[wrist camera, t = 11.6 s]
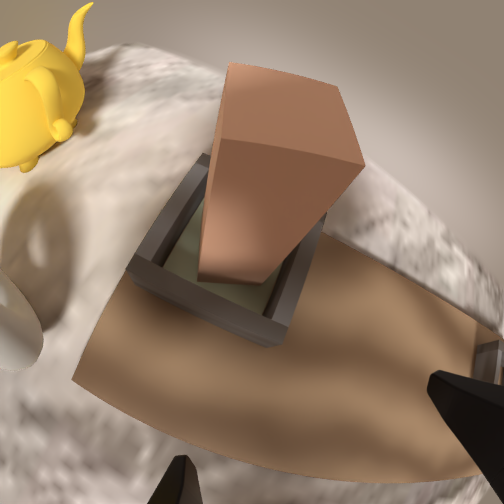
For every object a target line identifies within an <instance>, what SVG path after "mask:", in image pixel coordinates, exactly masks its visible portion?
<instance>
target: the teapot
mask: <svg viewBox="0 0 504 504" xmlns="http://www.w3.org/2000/svg"><path fill="white" fill-rule="evenodd" d="M92 5H93V2H91V3H88V4H87V5H85V6H83V7H82V8H81V9H79V10H78V11H77V12H76V13H75V14H74V15H73V17H72V19H71V21H70V24H69V29H68V41H67V45H66V48H65V50H64V52H62V51H60V50H59V49H58V48H56V47H55V46H54V45H52V44H50V43H49V42H47V41H45V40H33V41H29V42H26V43H24V44H21V45H19V46H18V41H12V42H9V43H8V44H6V45H4V46H2V47H1V48H0V168H8V167H14V166H18V165H19V167H20V171H21V172H23V173H26V172H29V171H31V170H32V169H33V168H34V167H35V166H36V165H37V163H38V160H39V157H38V156H39V155H40V154H42V153H43V152H45V151H46V150H47V149H49V148H50V147H51V146H52V145H53V144H54V143H55V142H57V141H58V142H62V141H65V140H67V139H69V138H70V136H71V135H72V133H73V128H74V127H75V126H76V125H77V119H76V118H75V117H76V115H77V114H78V112H79V110H80V108H81V106H82V103H83V100H84V95H85V88H84V83H83V80H82V78H81V75H80V73H79V70H80V69H81V67H82V64H83V62H84V58H85V41H84V34H83V22H84V18H85V15H86V13H87V12H88V10H89V9H90V7H91V6H92Z"/></svg>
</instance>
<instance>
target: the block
mask: <svg viewBox="0 0 504 504" xmlns="http://www.w3.org/2000/svg"><path fill="white" fill-rule="evenodd" d="M364 167H365V163H364V159H363V156H362V153H361V150H360V147H359V144H358V141H357V138H356V135H355V132H354V129H353V126H352V123H351V121H350V118H349V115H348V113H347V110H346V107H345V105H344V102H343V100H342V97H341V95H340V92H339V90H338V87H337V86H334V85H331V84H327V83H324V82H320V81H317V80H314V79H310V78H306V77H302V76H299V75H294V74H290V73H286V72H281V71H277V70H272V69H267V68H262V67H257V66H251V65H245V64H238V63H232V62H229V66H228V70H227V75H226V79H225V84H224V89H223V94H222V99H221V104H220V109H219V114H218V120H217V125H216V130H215V136H214V142H213V148H212V153H211V159H210V166H209V172H208V178H207V185H206V192H205V199H204V206H203V213H202V220H201V230H200V243H199V257H198V273H197V282H208V283H223V284H239V285H257V286H260V285H261V284H262V283H263V282H264V281H265V280H266V279H267V278H268V277H269V276H270V275H271V273H272V272H273V271H274V270H275V269H276V268H277V267H278V266H279V265H280V264H281V262H282V261H283V260H284V259H285V258H286V257H287V256H288V255H289V254H290V252H291V251H292V250H293V249H294V248H295V247H296V246H297V245H298V243H299V242H300V241H301V240H302V239H303V238H304V237H305V236H306V234H307V233H308V232H309V231H310V230H311V229H312V228H313V226H314V225H315V224H316V223H317V222H318V221H319V220H320V218H321V217H322V216H323V215H324V214H325V213H326V212H327V210H328V209H329V208H330V207H331V206H332V205H333V203H334V202H335V201H336V200H337V199H338V198H339V197H340V195H341V194H342V193H343V192H344V191H345V190H346V188H347V187H348V186H349V185H350V184H351V182H352V181H353V180H354V179H355V178H356V177H357V175H358V174H359V173H360V172H361V171H362V169H363V168H364Z"/></svg>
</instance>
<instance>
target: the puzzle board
mask: <svg viewBox="0 0 504 504" xmlns="http://www.w3.org/2000/svg"><path fill="white" fill-rule="evenodd" d="M210 159H211V156H209V155H207V154H204V153H202V155H201V156H200V157H199V159H198V160H197V161H196V163H195V164H194V165H193V167H192V168H191V170H190V171H189V172H188V174H187V175H186V176H185V178H184V179H183V181H182V182H181V183H180V185H179V186H178V188H177V189H176V191H175V192H174V193H173V195H172V196H171V198H170V199H169V201H168V202H167V204H166V205H165V207H164V208H163V210H162V211H161V213H160V214H159V216H158V217H157V219H156V220H155V222H154V223H153V225H152V226H151V228H150V230H149V231H148V233H147V234H146V236H145V238H144V239H143V241H142V242H141V244H140V246H139V247H138V249H137V251H136V252H135V254H134V256H133V257H132V259H131V261H130V262H129V264H128V266H127V267H126V271H125V273H124V275H123V276H122V278H121V280H120V282H119V284H118V285H117V287H116V289H115V291H114V293H113V294H112V296H111V298H110V300H109V302H108V304H107V306H106V308H105V310H104V311H103V313H102V315H101V317H100V319H99V321H98V323H97V325H96V327H95V329H94V331H93V333H92V335H91V338H90V340H89V342H88V344H87V346H86V348H85V350H84V352H83V355H82V357H81V359H80V361H79V364H78V366H77V368H76V370H75V373H74V375H73V377H72V381H74V382H75V383H77V384H78V385H80V386H81V387H83V388H84V389H86V390H87V391H89V392H90V393H92V394H93V395H95V396H97V397H98V398H100V399H102V400H103V401H105V402H106V403H108V404H110V405H112V406H113V407H115V408H117V409H119V410H120V411H122V412H124V413H126V414H128V415H130V416H131V417H133V418H135V419H137V420H139V421H141V422H143V423H145V424H147V425H149V426H151V427H153V428H155V429H157V430H160V431H162V432H164V433H166V434H168V435H171V436H173V437H175V438H178V439H180V440H182V441H185V442H187V443H190V444H192V445H195V446H198V447H200V448H203V449H206V450H208V451H211V452H214V453H217V454H220V455H223V456H226V457H229V458H232V459H236V460H239V461H242V462H246V463H249V464H253V465H257V466H261V467H265V468H269V469H273V470H278V471H282V472H287V473H292V474H297V475H303V476H309V477H315V478H323V479H330V480H339V481H350V482H365V483H415V482H430V481H440V480H449V479H456V478H462V477H468V476H474V475H479V474H483V473H482V472H481V471H480V469H479V468H478V466H477V465H476V464H475V462H474V461H473V459H472V458H471V457H470V455H469V454H468V453H467V451H466V450H465V448H464V447H463V446H462V444H461V443H460V442H459V440H458V439H457V438H456V436H455V435H454V434H453V432H452V431H451V430H450V428H449V427H448V426H447V425H446V423H445V422H444V420H443V419H442V417H441V416H440V414H439V412H438V410H437V409H436V407H435V405H434V404H433V402H432V400H431V399H430V397H429V396H428V394H427V385H428V381H429V377H430V375H431V374H432V373H433V372H435V371H437V370H443V371H447V372H450V373H454V374H458V375H462V376H465V377H469V378H473V379H477V380H481V381H485V382H489V383H494V384H498V385H502V386H504V339H503V338H501V337H500V336H498V335H497V334H495V333H494V332H492V331H491V330H489V329H488V328H486V327H485V326H483V325H482V324H480V323H479V322H477V321H476V320H474V319H472V318H471V317H469V316H468V315H466V314H465V313H463V312H461V311H460V310H458V309H457V308H455V307H453V306H452V305H450V304H449V303H447V302H445V301H444V300H442V299H440V298H439V297H437V296H436V295H434V294H432V293H431V292H429V291H427V290H426V289H424V288H422V287H420V286H419V285H417V284H415V283H414V282H412V281H410V280H409V279H407V278H405V277H403V276H402V275H400V274H398V273H396V272H395V271H393V270H391V269H389V268H388V267H386V266H384V265H382V264H380V263H379V262H377V261H375V260H373V259H371V258H370V257H368V256H366V255H364V254H362V253H360V252H359V251H357V250H355V249H353V248H351V247H349V246H347V245H346V244H344V243H342V242H340V241H338V240H336V239H334V238H332V237H330V236H328V235H327V234H325V233H323V232H321V231H322V227H323V224H324V221H325V218H326V214H327V212H326V213H325V214H324V215H323V216H322V217H321V218H320V220H319V221H318V222H317V223H316V224H315V225H314V226H313V228H312V229H311V230H310V231H309V232H308V233H307V234H306V236H305V237H304V238H303V239H302V240H301V241H300V242H299V243H298V245H297V246H296V247H295V248H294V249H293V250H292V251H291V252H290V254H289V255H288V256H287V257H286V258H285V259H284V260H283V261H282V262H281V264H280V265H279V266H278V267H277V268H276V269H275V270H274V271H273V272H272V273H271V275H270V276H269V277H268V278H267V279H266V280H265V281H264V282H263V283H262V284H261V285H260V286H257V285H239V284H223V283H208V282H197V273H198V257H199V243H200V230H201V220H202V213H203V206H204V199H205V192H206V185H207V178H208V172H209V166H210Z"/></svg>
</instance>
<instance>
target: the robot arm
mask: <svg viewBox="0 0 504 504" xmlns="http://www.w3.org/2000/svg"><path fill="white" fill-rule="evenodd" d="M427 394H428V396H429V397H430V399H431V400H432V402H433V404H434V405H435V407H436V409H437V410H438V412H439V414H440V416H441V417H442V419H443V420H444V422H445V423H446V425H447V426H448V427H449V428H450V430H451V431H452V432H453V434H454V435H455V436H456V438H457V439H458V440H459V442H460V443H461V444H462V446H463V447H464V448H465V450H466V451H467V453H468V454H469V455H470V457H471V458H472V459H473V461H474V462H475V464H476V465H477V466H478V468H479V469H480V471H481V472H482V473H483V475H484V476H485V478H486V479H487V481H488V482H489V483H490V485H491V487H492V488H493V490H494V491H495V493H496V494H497V495H498V497H499V499H500V500H501V502H502V503H503V504H504V386H502V385H498V384H494V383H489V382H485V381H481V380H477V379H473V378H469V377H465V376H462V375H458V374H454V373H450V372H447V371H443V370H437V371H435V372H433V373H432V374H431V375H430V377H429V381H428V385H427ZM147 504H203V502H202V497H201V492H200V487H199V481H198V475H197V470H196V467H195V466H194V464H193V463H192V461H191V460H190V458H189V457H188V456H187V455H178V456H175V457H174V458H173V460H172V462H171V464H170V465H169V467H168V469H167V471H166V472H165V474H164V476H163V477H162V479H161V481H160V483H159V484H158V486H157V488H156V489H155V491H154V493H153V495H152V496H151V498H150V500H149V501H148V503H147Z"/></svg>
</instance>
